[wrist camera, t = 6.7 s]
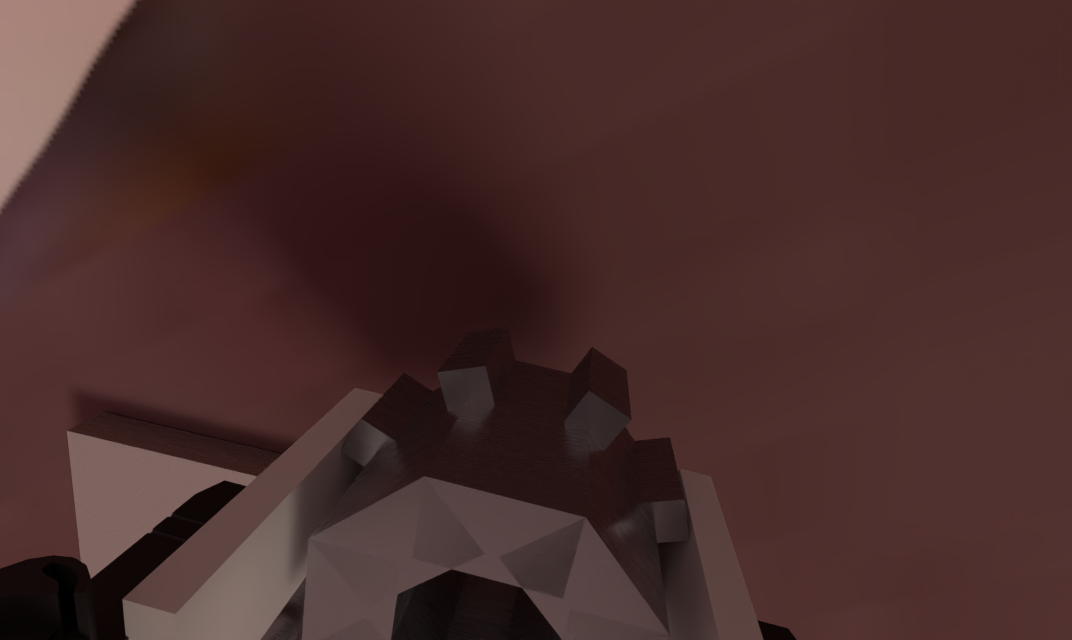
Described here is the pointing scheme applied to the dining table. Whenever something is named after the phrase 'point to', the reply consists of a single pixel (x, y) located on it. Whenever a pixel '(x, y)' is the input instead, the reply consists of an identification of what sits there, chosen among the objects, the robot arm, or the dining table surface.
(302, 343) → the dining table surface
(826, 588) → the dining table surface
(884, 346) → the dining table surface
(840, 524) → the dining table surface
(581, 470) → the gear
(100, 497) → the carrier
